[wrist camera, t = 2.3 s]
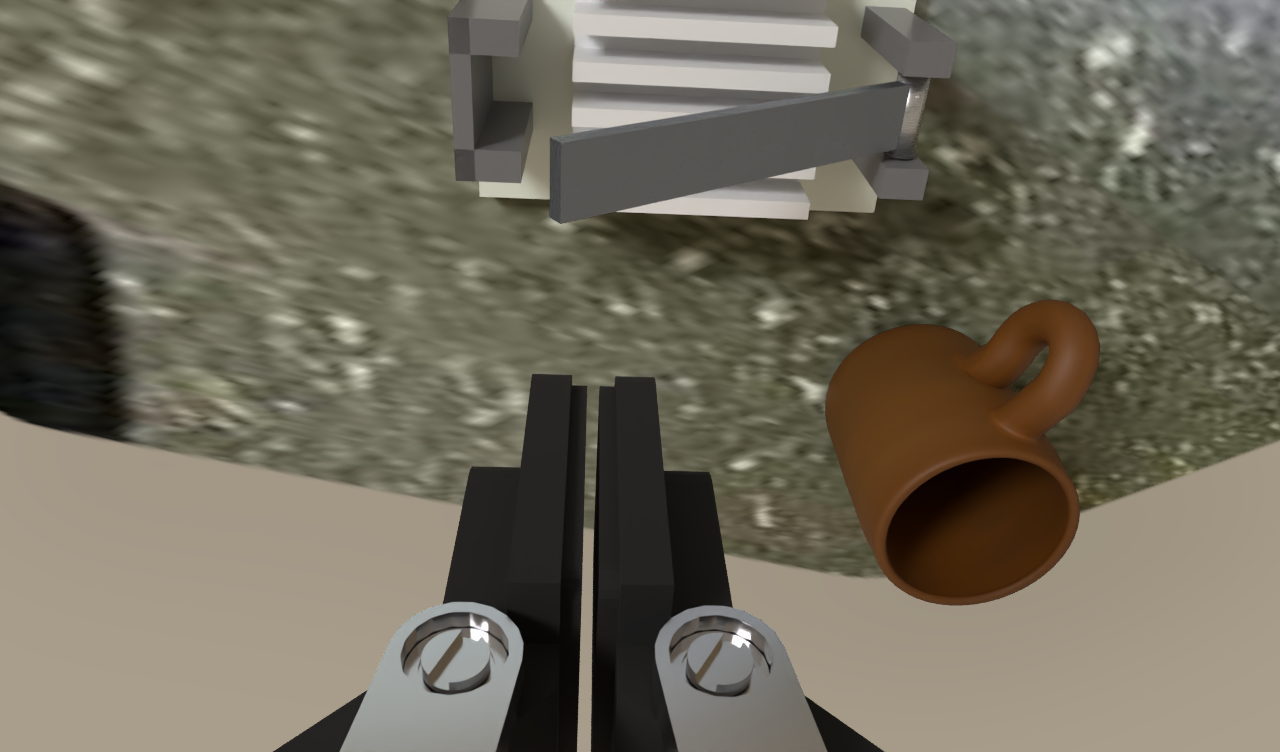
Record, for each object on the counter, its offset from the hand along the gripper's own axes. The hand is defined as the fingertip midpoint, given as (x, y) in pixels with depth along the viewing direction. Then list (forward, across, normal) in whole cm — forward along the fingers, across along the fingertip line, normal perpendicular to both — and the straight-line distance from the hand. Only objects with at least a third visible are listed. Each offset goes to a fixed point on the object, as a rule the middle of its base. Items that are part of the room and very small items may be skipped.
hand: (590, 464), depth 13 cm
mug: (+24, -15, +12) cm, 30 cm away
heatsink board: (+24, -3, 0) cm, 24 cm away
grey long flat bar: (+15, -4, 0) cm, 16 cm away
